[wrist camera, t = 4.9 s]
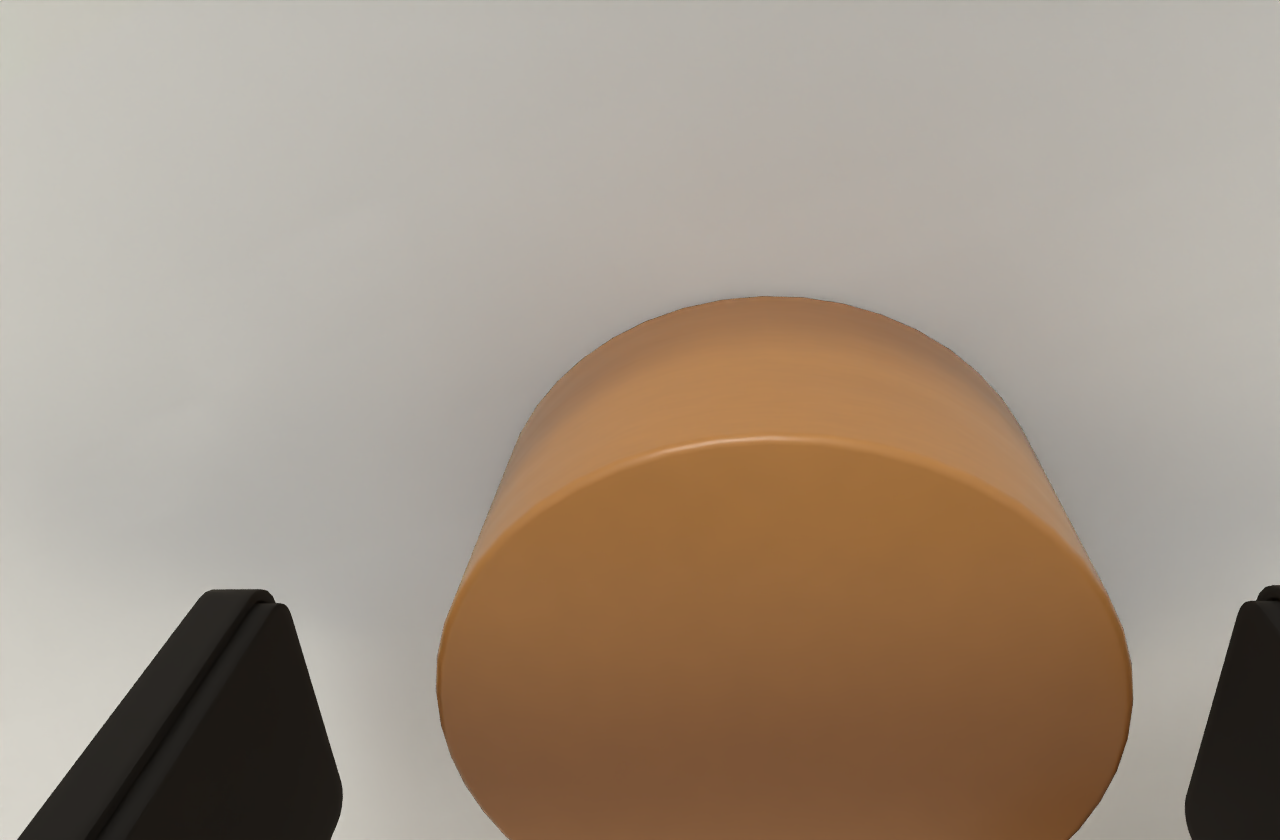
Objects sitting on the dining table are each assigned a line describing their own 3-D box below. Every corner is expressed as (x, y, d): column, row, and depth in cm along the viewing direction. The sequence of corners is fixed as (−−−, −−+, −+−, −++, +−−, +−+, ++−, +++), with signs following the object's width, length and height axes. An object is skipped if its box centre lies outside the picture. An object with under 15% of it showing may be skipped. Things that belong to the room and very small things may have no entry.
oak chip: (464, 302, 10) (372, 442, 8) (1081, 284, 10) (1207, 429, 7) (534, 730, 14) (485, 932, 11) (1009, 739, 13) (1078, 959, 10)
